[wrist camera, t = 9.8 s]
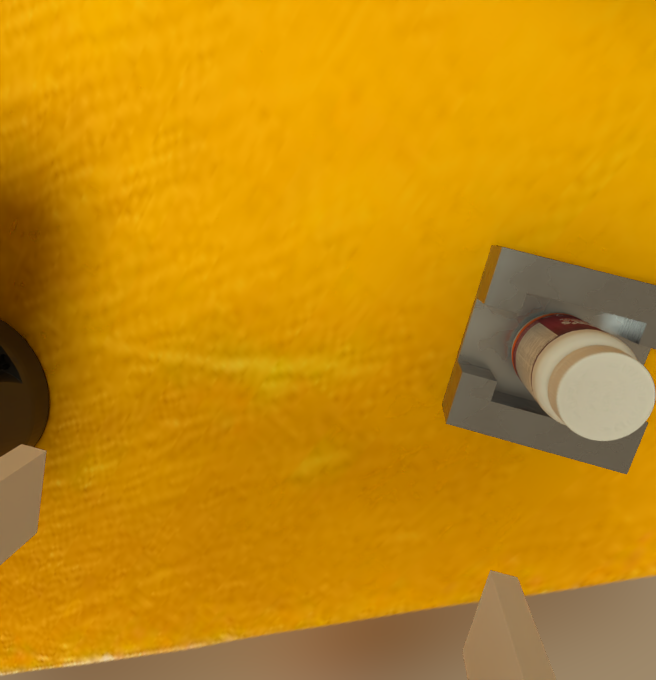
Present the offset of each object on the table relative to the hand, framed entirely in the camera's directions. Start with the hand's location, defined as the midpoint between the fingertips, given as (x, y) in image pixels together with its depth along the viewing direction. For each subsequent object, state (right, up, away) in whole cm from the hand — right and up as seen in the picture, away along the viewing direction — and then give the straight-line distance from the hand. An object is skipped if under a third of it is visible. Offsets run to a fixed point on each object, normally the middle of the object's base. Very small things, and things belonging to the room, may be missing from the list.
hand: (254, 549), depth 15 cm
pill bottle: (+19, +5, +25) cm, 32 cm away
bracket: (+19, +5, +25) cm, 32 cm away
